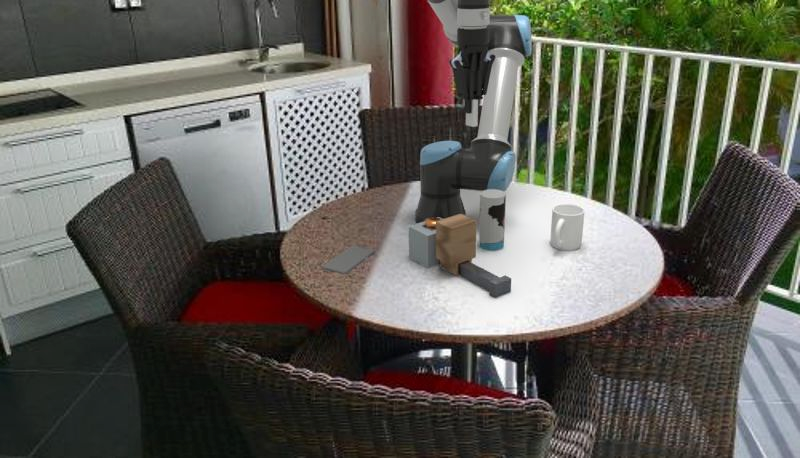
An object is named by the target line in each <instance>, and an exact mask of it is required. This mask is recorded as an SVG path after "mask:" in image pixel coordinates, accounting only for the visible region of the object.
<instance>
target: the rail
mask: <svg viewBox="0 0 800 458" xmlns="http://www.w3.org/2000/svg"><path fill="white" fill-rule="evenodd" d="M438 265H439V266H440V260H439V264H438ZM457 276H460V277H461V278H463V279H465V280H467V281H468V282H471V283H472V284H474V285H476V286H479V287H480V288H481V289H483V290H485V291H487V292H488V293H489V296H491V297H493V298H495V299H496V298H499V297H501V296H503V295H505V294H508V293H511V292H512V278H511V277H509V276H507V275H506V274H505V275H503V276H498V275H496V274H495V273H492V272H491V271H488V270H486V269H484V268H482V267H481V266H479V265H477V264H474V263H473V262H472V263H471V262H469V261H465V262H462V263H459V264H458V275H457Z"/></svg>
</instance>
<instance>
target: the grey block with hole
mask: <svg viewBox="0 0 800 458" xmlns="http://www.w3.org/2000/svg"><path fill="white" fill-rule="evenodd" d="M437 218H440V217H437ZM440 219H441V220H442V218H440ZM407 228H408V253H409V254H408V258H409V259H410V260H413V261H414V262H416V263H418V264H420V265H421V266H424V267H425V268H427V269H430V268H432V267H435V266H438V265H439V259H437V258H436V230H433V231H431V230H429V229H427V226H425V221H424V222H421V223H415V224H412V225H408V227H407Z"/></svg>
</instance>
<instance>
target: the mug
mask: <svg viewBox="0 0 800 458" xmlns="http://www.w3.org/2000/svg"><path fill="white" fill-rule="evenodd" d="M584 220H585V208H584V207H582V206H581V205H577V204H571V203H562V204H561V203H560V204H556V205H554V206H553V207H552V212H551V227H550V228H551V229H550V244H551V246H552V247H553V248H555V249H558V250H561V251H576V250H577V249H580V247H582V244H583V243H582V242H583V231H584V224H585V223H584Z"/></svg>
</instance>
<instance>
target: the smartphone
mask: <svg viewBox="0 0 800 458" xmlns="http://www.w3.org/2000/svg"><path fill="white" fill-rule="evenodd" d="M375 252H376V251H375V250H374V249H373V248H368V247H363V246H360V245H354V244H352V245H350V246H349V247H348V248H346V249H345V250H344V251H342V252H340V253H339V254H337V255H336V256H335V257H333V258H332V259H331V260H328V261H327V262H325V264H324V265H322V267H321V269H322V270H325V271H329V272H334V273H337V274H341V275H346V274H348V273H349V272H351V271H352V270H353V269H354V268H356V267H357V266H359V265H361V263H363V262H364V261H366V260H367V259H368V258H369V257H371V256H373V255H374V254H375Z"/></svg>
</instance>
